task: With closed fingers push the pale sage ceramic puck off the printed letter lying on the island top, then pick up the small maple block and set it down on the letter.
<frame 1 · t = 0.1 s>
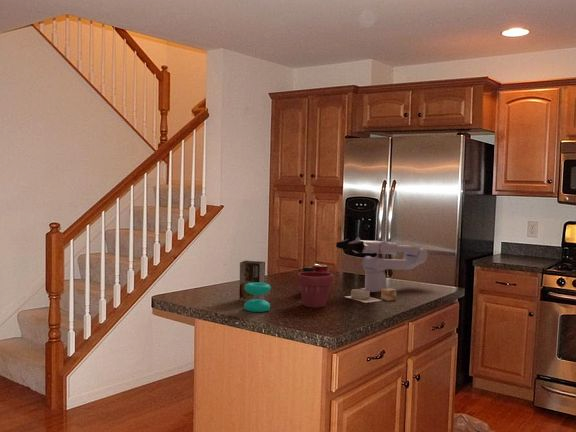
hand: (342, 245, 256), 22 cm above the counter, tool horizontal, fingers open, 7 cm apart
coffee box: (251, 301, 238), on the counter
supplement bottle: (307, 294, 255), on the counter
puck: (360, 297, 250), resting on letter
maple block: (388, 299, 248), on the counter
donuts: (257, 310, 221), on the counter
letter: (363, 298, 248), on the counter
plant pot: (314, 305, 232), on the counter
soda can: (319, 291, 262), on the counter
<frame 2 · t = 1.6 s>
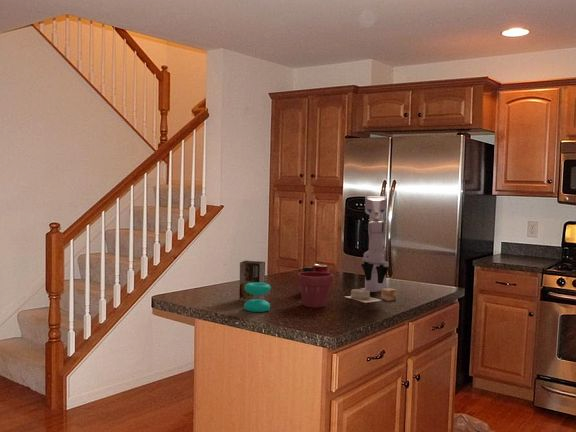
hand: (374, 281, 242), 8 cm above the counter, tool pointing down, fingers open, 7 cm apart
nothing on the counter moved.
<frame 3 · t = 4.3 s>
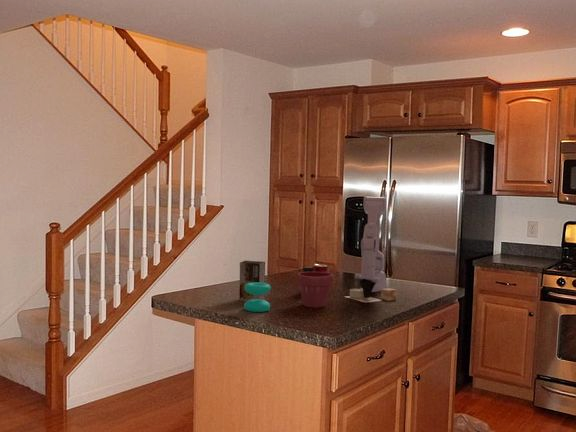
hand: (367, 297, 246), 1 cm above the counter, tool pointing down, fingers closed
puck: (358, 297, 250), resting on letter, touching gripper
everything else where it was.
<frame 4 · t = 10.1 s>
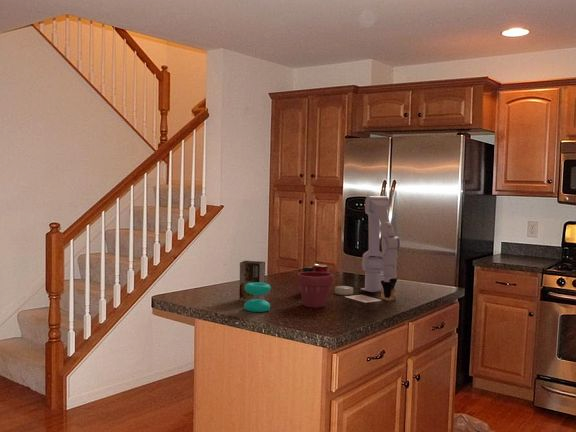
hand: (388, 296, 248), 1 cm above the counter, tool pointing down, fingers closed on maple block, 6 cm apart
puck: (344, 294, 258), on the counter
maple block: (388, 299, 248), on the counter, touching gripper
everything else where it was.
when the fingers open (8 cm above the counter, at t = 11.5 s): maple block drops 6 cm, resting on letter.
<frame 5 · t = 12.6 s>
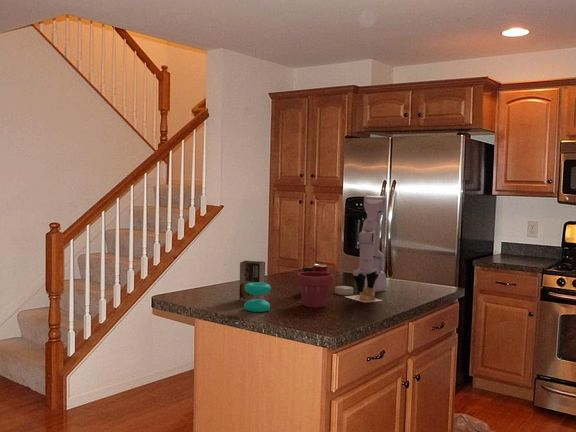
hand: (365, 290, 247), 4 cm above the counter, tool pointing down, fingers open, 6 cm apart
maple block: (367, 299, 247), resting on letter, touching gripper
everything else where it was.
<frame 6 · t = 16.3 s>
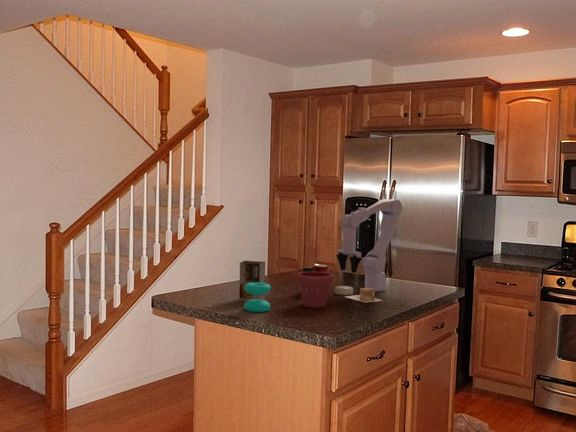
hand: (348, 271, 259), 10 cm above the counter, tool pointing down, fingers open, 7 cm apart
maple block: (367, 299, 246), resting on letter
everything else where it was.
at the end: maple block inside the target area on the letter (2.3 cm from its centre), point 0.1 cm above the letter's base; puck inside the target area on the counter beside the letter (11.8 cm from its centre), on the counter; maple block tilted 0° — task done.
